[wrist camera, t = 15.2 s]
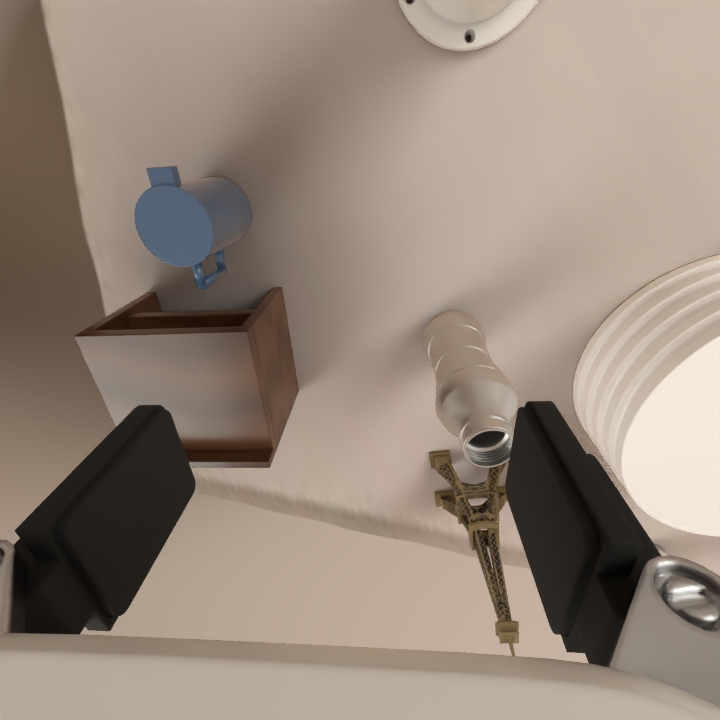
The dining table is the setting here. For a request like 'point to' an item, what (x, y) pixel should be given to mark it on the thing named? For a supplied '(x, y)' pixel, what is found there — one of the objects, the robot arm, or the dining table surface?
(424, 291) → the dining table surface
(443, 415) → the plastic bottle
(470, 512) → the eiffel tower
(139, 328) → the shelf stand
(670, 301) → the plate stack
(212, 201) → the jug
